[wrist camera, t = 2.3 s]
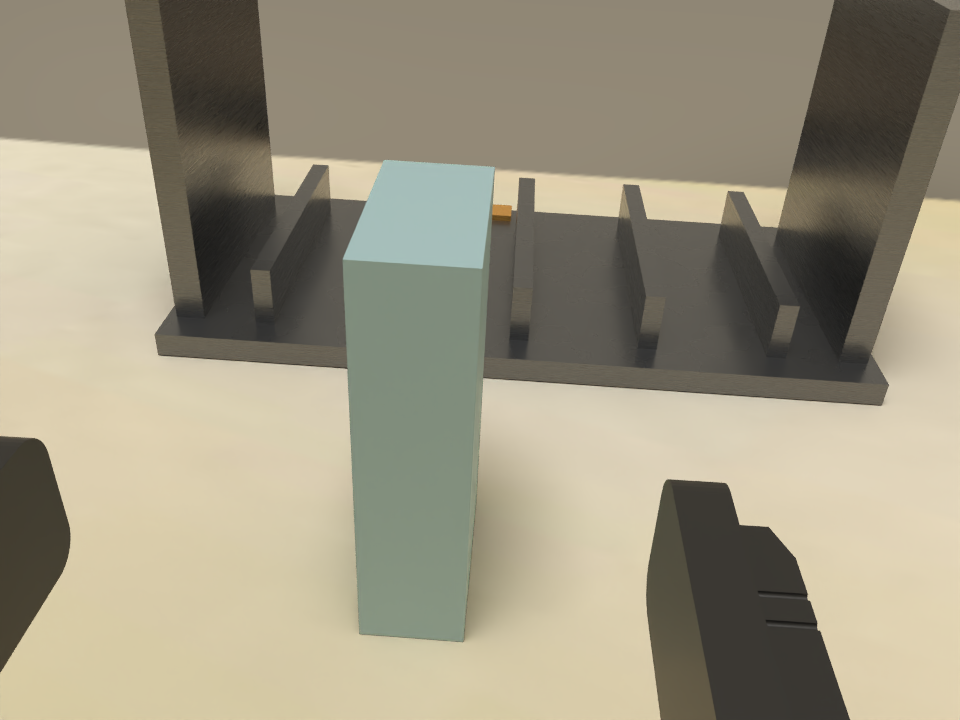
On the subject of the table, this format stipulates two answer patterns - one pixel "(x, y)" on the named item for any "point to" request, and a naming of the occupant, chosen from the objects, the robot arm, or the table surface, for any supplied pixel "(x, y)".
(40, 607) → the robot arm
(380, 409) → the tall pale blue pillar
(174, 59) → the rack
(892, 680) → the table surface
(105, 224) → the table surface
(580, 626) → the table surface
